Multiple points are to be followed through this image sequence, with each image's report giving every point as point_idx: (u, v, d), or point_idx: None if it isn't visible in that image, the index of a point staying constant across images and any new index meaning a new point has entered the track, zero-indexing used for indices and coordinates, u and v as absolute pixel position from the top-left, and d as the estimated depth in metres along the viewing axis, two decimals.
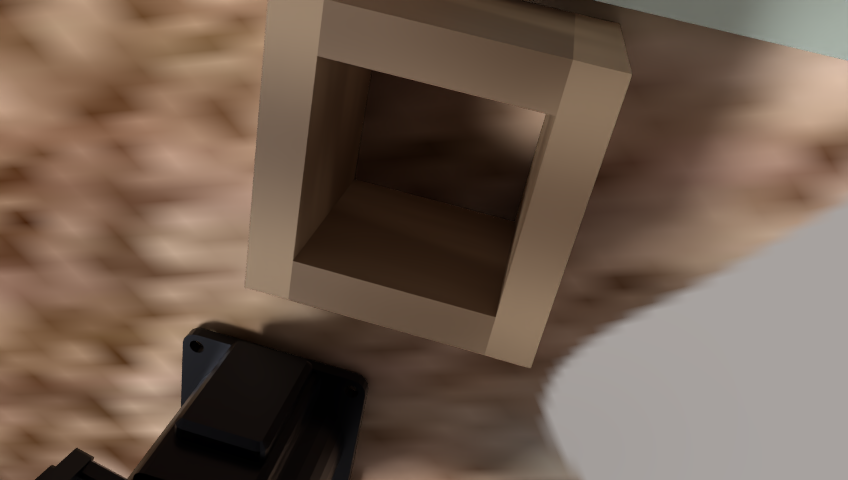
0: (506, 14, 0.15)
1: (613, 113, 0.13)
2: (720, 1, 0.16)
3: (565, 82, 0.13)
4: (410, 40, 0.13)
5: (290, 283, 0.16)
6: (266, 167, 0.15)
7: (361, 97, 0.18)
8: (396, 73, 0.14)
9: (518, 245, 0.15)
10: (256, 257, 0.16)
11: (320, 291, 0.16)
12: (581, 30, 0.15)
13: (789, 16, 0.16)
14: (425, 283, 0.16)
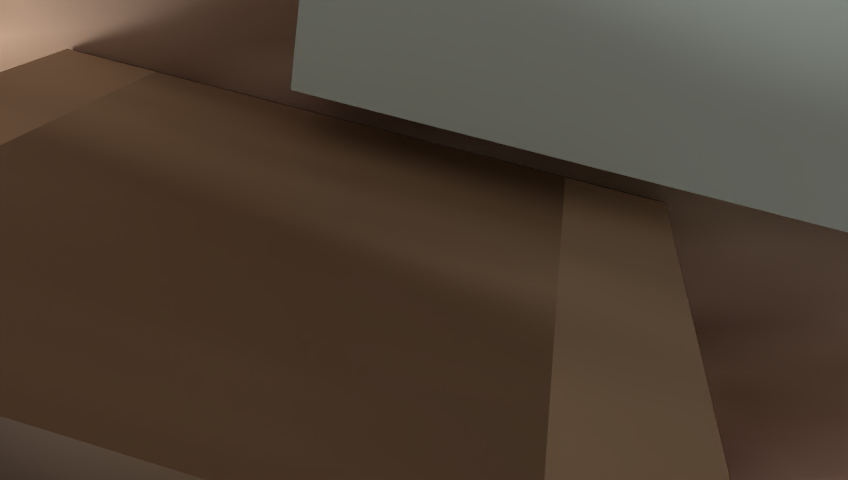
0: (379, 233, 0.06)
1: None
2: None
3: None
4: None
5: None
6: None
7: None
8: None
9: None
10: None
11: None
12: (576, 275, 0.06)
13: None
14: None
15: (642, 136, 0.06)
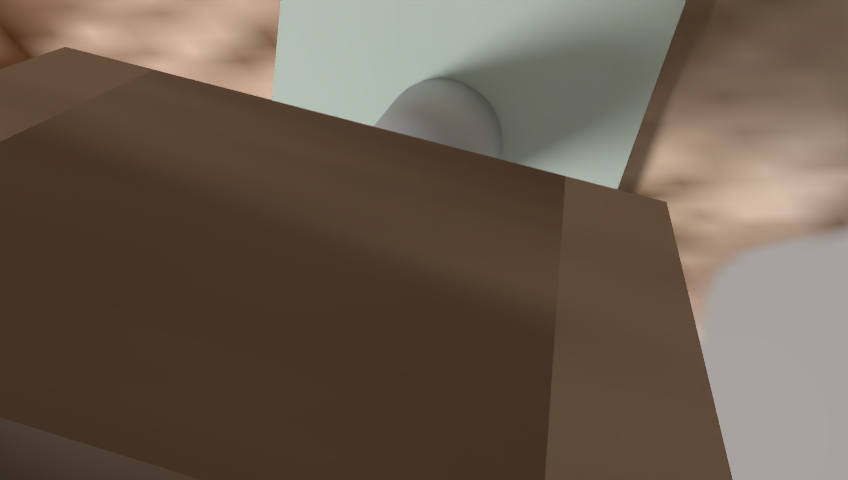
0: (378, 231, 0.06)
1: None
2: None
3: None
4: None
5: None
6: None
7: None
8: None
9: None
10: None
11: None
12: (577, 274, 0.06)
13: None
14: None
15: None
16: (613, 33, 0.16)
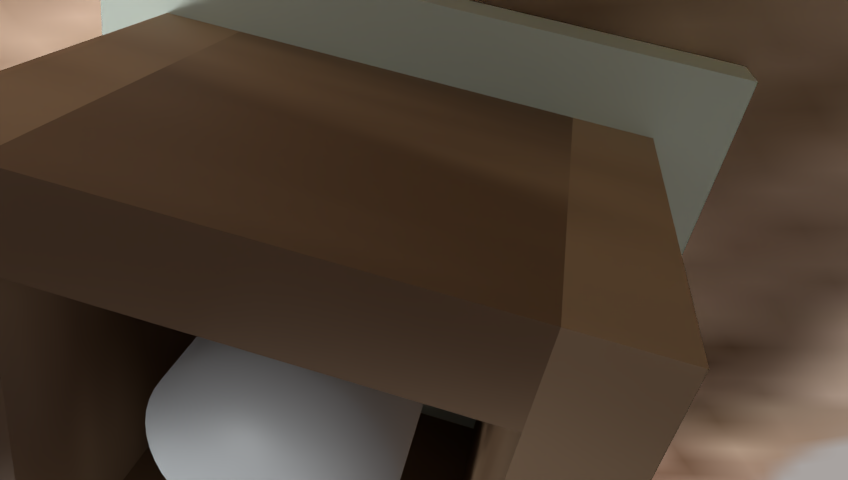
0: (433, 145, 0.08)
1: (657, 441, 0.05)
2: None
3: (542, 371, 0.05)
4: (177, 258, 0.06)
5: None
6: None
7: None
8: (158, 321, 0.06)
9: None
10: None
11: None
12: (583, 178, 0.08)
13: None
14: None
15: None
16: None
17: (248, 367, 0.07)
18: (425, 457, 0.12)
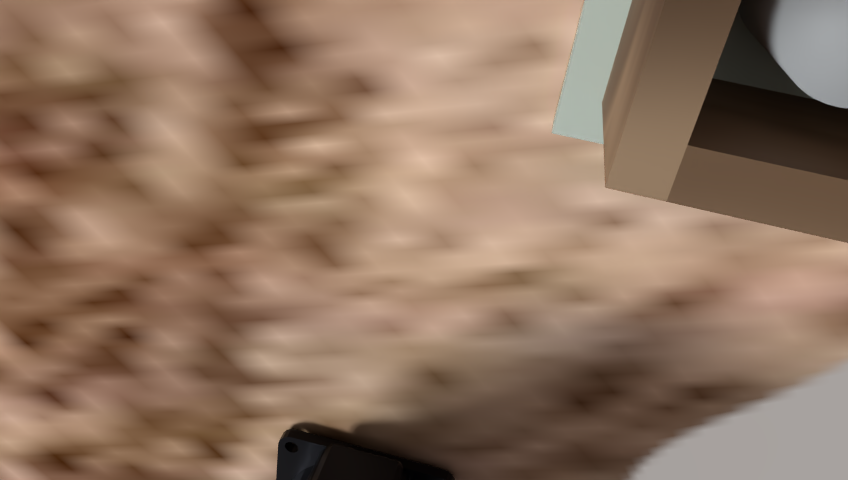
0: None
1: None
2: None
3: None
4: None
5: (674, 179, 0.12)
6: (679, 8, 0.11)
7: None
8: None
9: None
10: (633, 143, 0.12)
11: (717, 187, 0.12)
12: None
13: None
14: None
15: None
16: None
17: None
18: None
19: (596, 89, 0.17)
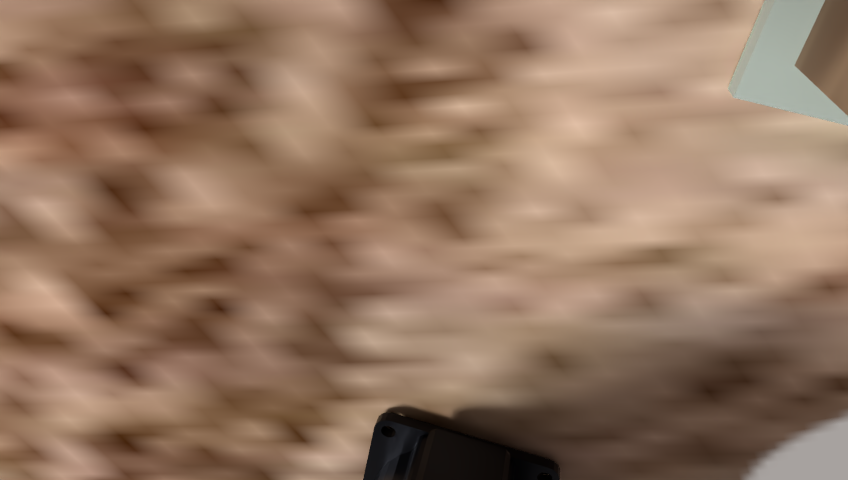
0: None
1: None
2: None
3: None
4: None
5: None
6: None
7: None
8: None
9: None
10: None
11: None
12: None
13: None
14: None
15: None
16: None
17: None
18: None
19: (790, 51, 0.16)
